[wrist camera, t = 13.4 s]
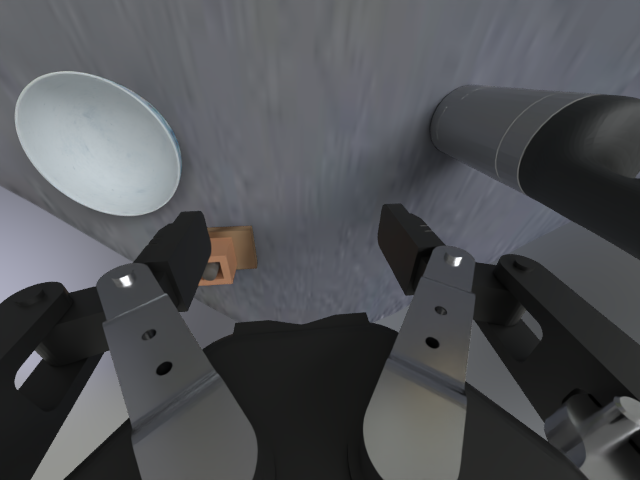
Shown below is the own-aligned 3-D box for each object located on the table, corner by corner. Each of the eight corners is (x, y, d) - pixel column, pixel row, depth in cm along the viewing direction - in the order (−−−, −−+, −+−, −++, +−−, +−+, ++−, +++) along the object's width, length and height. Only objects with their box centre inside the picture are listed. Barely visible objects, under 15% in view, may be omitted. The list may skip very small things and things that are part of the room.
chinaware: (131, 42, 29) (87, 34, 22) (221, 159, 37) (208, 178, 30) (40, 114, 31) (-23, 125, 25) (142, 208, 39) (114, 235, 33)
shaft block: (251, 225, 43) (246, 251, 37) (257, 263, 47) (253, 292, 41) (176, 229, 42) (157, 256, 36) (189, 267, 46) (174, 297, 40)
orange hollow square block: (231, 237, 42) (225, 255, 38) (237, 264, 45) (232, 283, 41) (196, 239, 41) (186, 257, 37) (204, 265, 45) (196, 285, 40)
